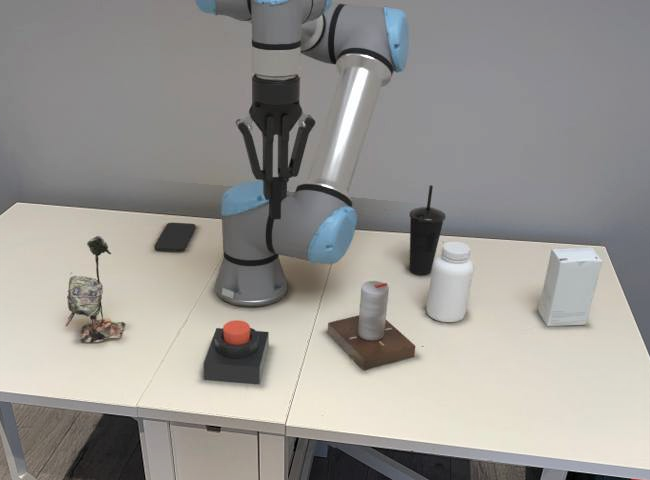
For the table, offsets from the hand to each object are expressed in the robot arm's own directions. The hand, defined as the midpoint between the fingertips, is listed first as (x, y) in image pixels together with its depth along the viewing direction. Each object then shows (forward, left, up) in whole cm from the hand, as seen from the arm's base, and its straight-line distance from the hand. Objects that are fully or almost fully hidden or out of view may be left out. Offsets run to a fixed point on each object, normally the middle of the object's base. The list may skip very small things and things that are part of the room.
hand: (274, 216), depth 132 cm
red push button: (+5, -8, -21) cm, 23 cm away
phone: (-51, -13, -26) cm, 59 cm away
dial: (+4, +18, -24) cm, 30 cm away
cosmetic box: (+3, +59, -27) cm, 65 cm away
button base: (+5, -8, -26) cm, 28 cm away
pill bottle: (-4, +37, -27) cm, 46 cm away
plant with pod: (-11, -33, -27) cm, 44 cm away
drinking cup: (-23, +39, -27) cm, 53 cm away
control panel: (+4, +18, -26) cm, 32 cm away
